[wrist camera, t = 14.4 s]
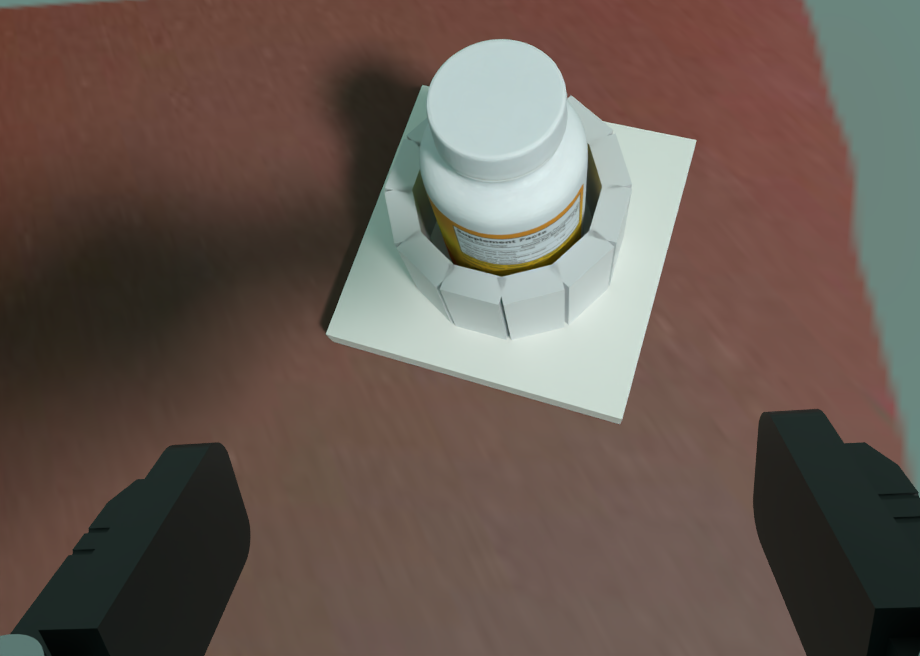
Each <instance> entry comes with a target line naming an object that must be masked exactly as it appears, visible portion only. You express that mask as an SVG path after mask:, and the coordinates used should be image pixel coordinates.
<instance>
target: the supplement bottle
mask: <svg viewBox="0 0 920 656" xmlns="http://www.w3.org/2000/svg"><path fill="white" fill-rule="evenodd" d="M426 113H427V119H428V124H427V126H426V128H425V131H424V134H423V137H422V140H421V145H420V152H419V164H420V171H421V176H422V179H423V183H424V186H425V189H426V192H427V195H428V198H429V200H430V203H431V206H432V209H433V211H434V214H435V217H436V220H437V223H438V225H439V228H440V231H441V234H442V237H443V239H444V242H445V245H446V248H447V250H448V253H449V256H450V258H451V260H452V263H453V264H454V265H457V266H461V267H465V268H469V269H473V270H477V271H481V272H485V273H489V274H493V275H496V276H500V277H504V276H508V275H512V274H516V273H520V272H524V271H528V270H532V269H536V268H540V267H544V266H548V265H552V264H553V263H554V262H556V261H557V260H558V259H559V258H560V257H561V256H562V255H563V254H564V253H565V252H567V251H568V250H569V249H570V248H571V247H572V246H573V245H574V244H575V243H577V242H578V241H579V240H580V239H581V238H582V237H583V236H584V218H585V198H586V181H587V165H588V145H587V137H586V133H585V130H584V126H583V124H582V121H581V119H580V117H579V116H578V114H577V112H576V111H575V109H574V108H573V106H572V105H571V104H570V103H569V102H568V100H567V94H566V87H565V82H564V79H563V77H562V74H561V72H560V70H559V69H558V67H557V66H556V64H555V63H554V62H553V61H552V59H551V58H550V57H548V56H547V55H546V54H545V53H544V52H542V51H541V50H539V49H537V48H535V47H534V46H532V45H529V44H526V43H523V42H520V41H514V40H507V39H497V40H487V41H483V42H479V43H476V44H473V45H471V46H468V47H466V48H464V49H462V50H460V51H459V52H457V53H456V54H454V55H453V56H452V57H450V58H449V59H448V60H447V61H446V62H445V63H444V64H443V65H442V66H441V67H440V68H439V70H438V71H437V73H436V74H435V76H434V77H433V79H432V82H431V84H430V87H429V89H428V93H427V99H426Z"/></svg>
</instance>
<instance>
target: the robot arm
mask: <svg viewBox="0 0 920 656" xmlns="http://www.w3.org/2000/svg"><path fill="white" fill-rule="evenodd" d="M753 508H754V518H755V524H756V529H757V533H758V537H759V540H760V543H761V545H762V548H763V550H764V553H765V555H766V558H767V560H768V562H769V565H770V567H771V570H772V572H773V575H774V577H775V579H776V582H777V584H778V587H779V589H780V592H781V594H782V596H783V599H784V601H785V604H786V606H787V609H788V611H789V613H790V616H791V618H792V621H793V623H794V626H795V628H796V631H797V633H798V635H799V638H800V640H801V643H802V645H803V648H804V650H805V652H806V655H807V656H920V498H919V495H918V491H917V490H916V489H915V487H914V486H913V485H912V483H911V482H910V480H909V479H908V478H907V476H906V475H905V474H904V472H903V471H902V470H901V468H900V467H899V466H898V465H897V464H896V463H894V462H893V461H891V460H890V459H888V458H887V457H885V456H884V455H883V454H881V453H880V452H878V451H877V450H875V449H874V448H872V447H871V446H869V445H868V444H866V443H865V442H864V443H845V444H844V443H843V441H842V440H841V438H840V437H839V435H838V434H837V432H836V430H835V429H834V427H833V426H832V424H831V423H830V421H829V420H828V418H827V417H826V415H825V414H824V413H823V412H822V411H821V410H819V409H809V410H792V411H775V412H763V413H762V415H761V417H760V420H759V427H758V440H757V453H756V467H755V480H754V494H753ZM249 547H250V524H249V519H248V516H247V513H246V509H245V506H244V503H243V500H242V497H241V493H240V490H239V487H238V484H237V480H236V477H235V474H234V471H233V468H232V464H231V461H230V458H229V455H228V452H227V450H226V449H225V447H224V446H223V445H222V444H221V443H202V444H185V445H172V446H169V447H168V448H166V450H165V451H164V452H163V454H162V455H161V456H160V458H159V459H158V461H157V462H156V463H155V465H154V466H153V468H152V469H151V471H150V472H149V473H148V475H147V476H146V478H145V479H138V480H136V481H134V482H133V483H132V484H131V485H129V486H128V487H127V488H126V489H124V490H123V491H122V492H120V493H119V494H118V495H117V496H115V497H114V498H113V499H112V500H110V501H109V502H108V503H107V504H106V505H105V507H104V508H103V510H102V511H101V512H100V514H99V515H98V516H97V518H96V519H95V520H94V522H93V523H92V524H91V526H90V527H89V532H88V533H86V534H84V535H83V536H82V538H81V539H80V541H79V542H78V543H77V545H76V546H75V547H74V549H73V554H72V555H68V557H67V558H66V559H65V561H64V562H63V563H62V565H61V566H60V568H59V569H58V570H57V572H56V573H55V574H54V576H53V577H52V578H51V580H50V581H49V582H48V584H47V585H46V586H45V588H44V589H43V590H42V592H41V593H40V594H39V596H38V597H37V599H36V600H35V601H34V603H33V604H32V605H31V607H30V608H29V609H28V611H27V612H26V613H25V615H24V616H23V617H22V619H21V620H20V621H19V623H18V624H17V625H16V627H15V628H14V630H13V631H12V632H11V634H10V635H3V636H0V656H204V655H205V653H206V650H207V648H208V646H209V644H210V641H211V639H212V637H213V635H214V632H215V630H216V628H217V626H218V623H219V621H220V619H221V617H222V614H223V612H224V610H225V608H226V605H227V603H228V601H229V599H230V596H231V594H232V592H233V589H234V587H235V585H236V583H237V580H238V578H239V576H240V574H241V571H242V569H243V567H244V565H245V562H246V560H247V557H248V553H249Z"/></svg>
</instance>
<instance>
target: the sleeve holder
mask: <svg viewBox="0 0 920 656" xmlns="http://www.w3.org/2000/svg"><path fill="white" fill-rule="evenodd" d="M428 89H429V86H424V85H422V87H421V90H420V92H419V95H418V97H417V100H416V103H415V105H414V108H413V110H412V113H411V115H410V118H409V121H408V123H407V126H406V128H405V131H404V134H403V136H402V139H401V141H400V144H399V146H398V149H397V152H396V154H395V157H394V159H393V162H392V165H391V167H390V170H389V172H388V175H387V177H386V180H385V183H384V185H383V188H382V190H381V193H380V196H379V198H378V201H377V203H376V206H375V208H374V211H373V214H372V216H371V219H370V221H369V224H368V226H367V229H366V232H365V234H364V237H363V239H362V242H361V245H360V247H359V250H358V252H357V255H356V257H355V260H354V263H353V265H352V268H351V270H350V273H349V276H348V278H347V281H346V283H345V286H344V288H343V291H342V294H341V296H340V299H339V301H338V304H337V307H336V309H335V312H334V314H333V317H332V319H331V322H330V325H329V327H328V330H327V332H326V335H327V336H328V337H329V338H330V339H331V340H332V341H333V342H336V343H340V344H343V345H347V346H350V347H354V348H357V349H360V350H364V351H367V352H371V353H374V354H378V355H381V356H385V357H388V358H392V359H395V360H399V361H402V362H406V363H409V364H412V365H416V366H419V367H423V368H426V369H430V370H433V371H437V372H440V373H444V374H447V375H451V376H454V377H458V378H461V379H464V380H468V381H471V382H475V383H478V384H482V385H485V386H489V387H492V388H496V389H499V390H503V391H506V392H510V393H513V394H516V395H520V396H523V397H527V398H530V399H534V400H537V401H541V402H544V403H548V404H551V405H555V406H558V407H562V408H565V409H568V410H572V411H575V412H579V413H582V414H586V415H589V416H593V417H596V418H600V419H603V420H607V421H610V422H614V423H617V424H620V423H621V421H622V418H623V414H624V410H625V407H626V403H627V399H628V395H629V392H630V388H631V384H632V380H633V377H634V373H635V369H636V365H637V362H638V358H639V354H640V350H641V347H642V343H643V339H644V335H645V332H646V328H647V324H648V320H649V317H650V313H651V309H652V305H653V302H654V298H655V294H656V290H657V287H658V283H659V279H660V275H661V272H662V268H663V264H664V260H665V257H666V253H667V249H668V245H669V242H670V238H671V234H672V230H673V227H674V223H675V219H676V215H677V212H678V208H679V204H680V200H681V197H682V193H683V189H684V185H685V182H686V178H687V174H688V170H689V167H690V163H691V159H692V155H693V152H694V148H695V144H696V140H693V139H688V138H683V137H678V136H673V135H668V134H663V133H658V132H653V131H648V130H643V129H638V128H633V127H628V126H623V125H618V124H613V123H608V122H603V121H602V120H601V119H599V118H598V117H597V116H596V115H594V114H593V113H592V112H591V111H590V110H588V109H587V108H586V107H585V106H583V105H582V104H581V103H580V102H579V101H577V100H576V99H575V98H574V97H573V96H570V97H569V98H568V99H567V100H568V102H569V103H570V104H571V105H572V106H573V108H574V109H575V111H576V112H577V114H578V116H579V117H580V119H581V121H582V124H583V126H584V130H585V133H586V137H587V145H588V165H587V181H586V198H585V218H584V236H583V237H582V238H581V239H580V240H579V241H578V242H577V243H575V244H574V245H573V246H572V247H571V248H570V249H569V250H568V251H567V252H565V253H564V254H563V255H562V256H561V257H560V258H559V259H558V260H557V261H556V262H554V263H553V264H552V265H548V266H544V267H540V268H536V269H532V270H528V271H524V272H520V273H516V274H512V275H508V276H504V277H500V276H496V275H493V274H489V273H485V272H481V271H477V270H473V269H469V268H465V267H461V266H457V265H454V264H453V263H452V260H451V258H450V256H449V253H448V250H447V248H446V245H445V242H444V239H443V237H442V234H441V231H440V228H439V225H438V223H437V220H436V217H435V214H434V211H433V209H432V206H431V203H430V200H429V198H428V195H427V192H426V189H425V186H424V183H423V179H422V176H421V171H420V164H419V152H420V145H421V140H422V137H423V134H424V131H425V128H426V126H427V124H428V119H427V113H426V99H427V93H428ZM566 94H567V93H566Z"/></svg>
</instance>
